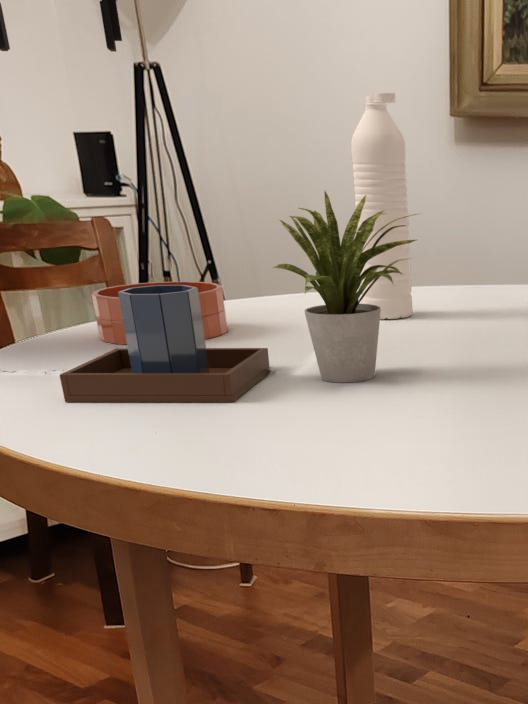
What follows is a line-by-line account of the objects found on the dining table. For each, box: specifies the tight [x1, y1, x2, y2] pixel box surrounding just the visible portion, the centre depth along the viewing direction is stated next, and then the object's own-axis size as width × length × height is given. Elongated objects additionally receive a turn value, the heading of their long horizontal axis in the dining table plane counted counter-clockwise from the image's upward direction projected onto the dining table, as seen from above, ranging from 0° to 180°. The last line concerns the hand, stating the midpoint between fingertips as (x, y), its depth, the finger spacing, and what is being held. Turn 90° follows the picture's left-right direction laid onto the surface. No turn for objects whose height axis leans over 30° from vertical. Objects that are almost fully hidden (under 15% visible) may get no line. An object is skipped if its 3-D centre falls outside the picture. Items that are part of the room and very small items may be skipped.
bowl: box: [91, 280, 228, 345], centre depth 113 cm, size 14×14×6 cm
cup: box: [118, 285, 209, 373], centre depth 89 cm, size 6×6×8 cm
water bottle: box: [350, 92, 414, 320], centre depth 120 cm, size 9×6×25 cm
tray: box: [59, 347, 271, 403], centre depth 91 cm, size 15×12×2 cm
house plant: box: [272, 190, 422, 383], centre depth 89 cm, size 14×14×16 cm
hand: (58, 50), depth 93 cm, fingers open, 9 cm apart
